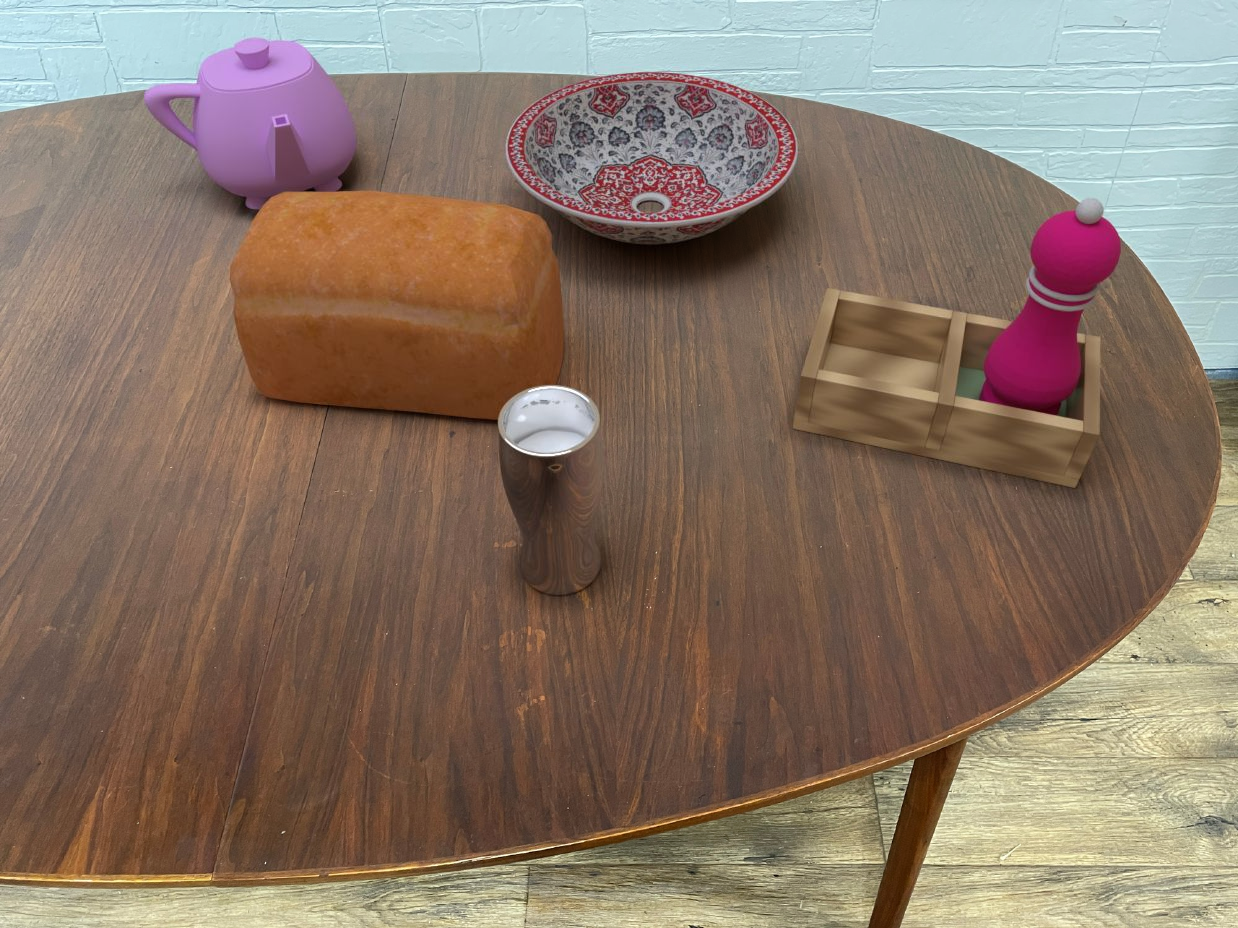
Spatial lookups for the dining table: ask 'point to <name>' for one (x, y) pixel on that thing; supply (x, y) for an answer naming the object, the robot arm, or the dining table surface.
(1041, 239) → the pepper mill
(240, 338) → the bread
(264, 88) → the teapot
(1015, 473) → the divided wooden box
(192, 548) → the dining table surface
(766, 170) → the ceramic bowl
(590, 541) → the metal cup
